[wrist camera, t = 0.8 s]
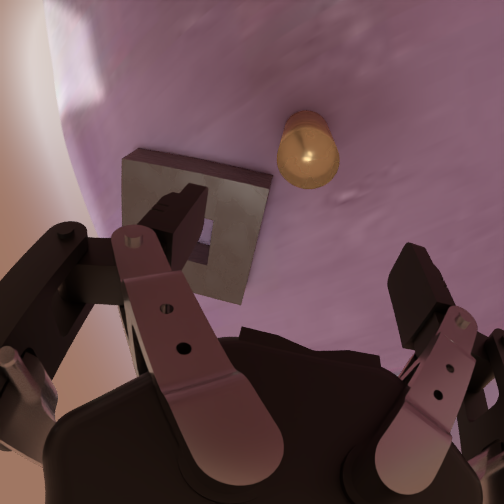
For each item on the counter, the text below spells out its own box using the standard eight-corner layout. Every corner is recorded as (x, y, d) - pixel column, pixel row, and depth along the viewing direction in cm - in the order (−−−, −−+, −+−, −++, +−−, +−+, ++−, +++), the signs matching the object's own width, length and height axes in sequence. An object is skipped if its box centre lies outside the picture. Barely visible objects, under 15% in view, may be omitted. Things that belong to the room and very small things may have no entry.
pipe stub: (289, 105, 26) (284, 122, 18) (333, 117, 25) (347, 140, 18) (280, 146, 28) (270, 180, 20) (322, 157, 28) (329, 195, 20)
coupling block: (138, 148, 30) (121, 158, 27) (273, 175, 29) (269, 189, 27) (137, 256, 38) (125, 273, 35) (246, 285, 38) (241, 305, 35)
